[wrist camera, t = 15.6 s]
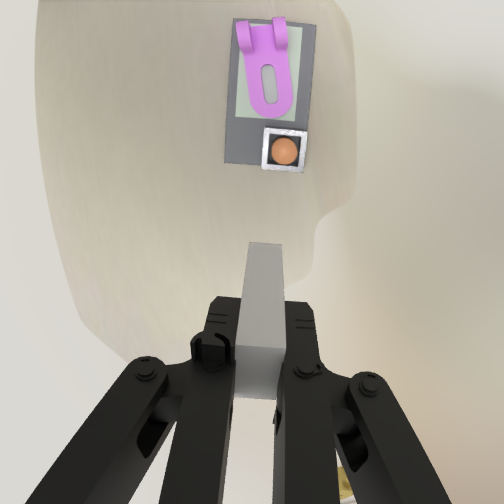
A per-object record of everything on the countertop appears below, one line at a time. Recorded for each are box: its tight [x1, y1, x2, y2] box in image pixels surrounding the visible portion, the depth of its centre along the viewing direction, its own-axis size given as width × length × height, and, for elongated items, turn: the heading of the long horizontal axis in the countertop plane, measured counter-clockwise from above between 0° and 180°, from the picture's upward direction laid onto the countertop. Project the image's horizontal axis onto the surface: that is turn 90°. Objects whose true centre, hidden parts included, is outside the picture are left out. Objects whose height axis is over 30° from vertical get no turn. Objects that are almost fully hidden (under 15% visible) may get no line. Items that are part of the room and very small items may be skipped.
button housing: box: [261, 125, 308, 173], centre depth 41 cm, size 6×6×3 cm
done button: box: [272, 136, 297, 165], centre depth 40 cm, size 3×3×4 cm
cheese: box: [337, 467, 353, 500], centre depth 87 cm, size 10×11×10 cm
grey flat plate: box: [224, 19, 316, 165], centre depth 39 cm, size 21×11×1 cm, turn 176°
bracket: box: [236, 17, 293, 118], centre depth 34 cm, size 13×6×7 cm, turn 7°
